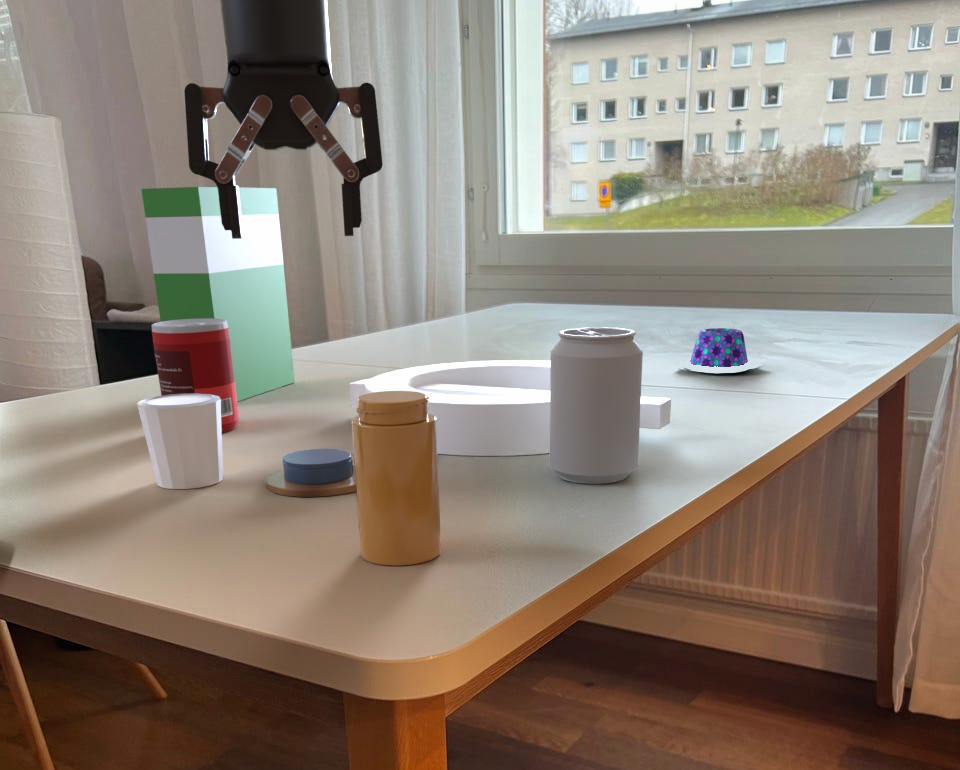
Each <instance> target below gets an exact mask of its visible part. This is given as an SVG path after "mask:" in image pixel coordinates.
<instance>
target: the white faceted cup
mask: <svg viewBox="0 0 960 770" xmlns="http://www.w3.org/2000/svg"><path fill="white" fill-rule="evenodd" d="M136 405H137V410H138V413H139V418H140V422H141V426H142V429H143V434H144V438H145V441H146V446H147V449H148V455H149V458H150V461H151V465H152V470H153V474H154V477H155V482H156V485H157V487H160V488H162V489H167V490H168V489H169V490H189V489H200V488H206V487H210V486H212V485H216V484H219V483H220V482H221V481H223V480H224V463H223V462H224V461H223V460H224V459H223V458H224V457H223V433H222V427H221V399H220V397H219V396H215V395H210V394H196V393H193V394H171V395H164V396H161V395H157V396H153V397H149V398H148V397H147V398H144V399H142V400H140V401H138V402H136Z"/></svg>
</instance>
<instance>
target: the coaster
mask: <svg viewBox="0 0 960 770" xmlns="http://www.w3.org/2000/svg"><path fill="white" fill-rule="evenodd" d="M265 485H266V489H267V490H268V491H269V492H270V493H273V494H277V495H281V496H287V497H294V498H295V497H296V498H318V497H319V498H322V497H332V496H339V495H344V494H350V493H354V492H356V480H355V466H354V464H353V473H352V476H351V477H349V478H348V479H345V480H342V481H339V482H334V483H327V484H313V485H309V484H297V483H292V482H289V481H287V480H285V478H284V469H281V470H278V471H275V472H273V473H271V474H269V475H268V476H267V477H266V478H265Z"/></svg>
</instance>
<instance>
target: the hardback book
mask: <svg viewBox="0 0 960 770" xmlns="http://www.w3.org/2000/svg"><path fill="white" fill-rule="evenodd" d="M141 196H142V205H143V208H144V210H143V211H144V217H145V222H146V223H145V224H146V230H147V231H146V232H147V236H148V237H147V239H148V244H149V252H150V256H151V257H150V258H151V266H152V273H153V278H154V279H153V280H154V286H155V292H156V300H157V307H158V313H159V322H163V321H170V320H181V319H223V320H226V321H227V325H228V329H229V336H230V344H231V353H232V361H233V370H234V379H235V388H236V396H237V403H238V402H241V401H244V400H247V399H250V398H252V397H256V396H258V395H262V394H264V393H268V392H270V391H273V390H276V389H279V388H282V387H285V386H287V385H291V384H293V383H295V382H296V380H295V370H294V359H293V348H292V339H291V328H290V318H289V306H288V298H287V297H288V296H287V286H286V275H285V266H284V254H283V245H282V243H283V242H282V234H281V225H280V224H281V222H280V213H279V212H280V211H279V202H278V201H279V200H278V192H277V187H239V197H240V207H241V217H242V226H243V238H242V239H233V238H232V233H231V230H225V229H224V227H223V225H222V222H221V213H220V204H219V195H218V188H217V186H183V187H182V186H181V187H155V188H149V187H148V188H141Z"/></svg>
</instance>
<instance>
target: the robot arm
mask: <svg viewBox="0 0 960 770" xmlns="http://www.w3.org/2000/svg"><path fill="white" fill-rule="evenodd" d="M219 1H220V2H219V3H220V13H221V21H222V22H221V23H222V32H223V43H224V51H225V61H226V80H225V83H224V84H223V85H224V86H223V87H213V86H200V85H198V84H197V83H194V82H190V83H188V84H187V85H186V86H185V87H184V92H183V93H184V107H185V121H186V139H187V140H186V141H187V154H188V155H187V156H188V167H189V170H190V171H191V173H192V174H194V175H196V176H200V177H203V178H206V179H208V180H211V181H212V182H214V184H215V185H216V187H217V188H218V195H219V204H220V213H221V222H222V225H223V227H224V229H225V230H231V233H232V238H233V239H242V238H243V226H242V217H241V207H240V197H239V188H240V187H239V185H236V177H237V175H238V173H239V172H240V170H241V168H242V167H243V165H244V164H245V162H246V161H247V159H248V158H249V156H250V154H251V153H252V151H253V149H255V147H256V146H257V147H258V148H260V149H262V150H264V151H279V150H281V149H286V148H288V149H292V150H295V151H308V150H309V149H311V148H313V147H314V146H316V145H318V146H319V148H320V149H321V150H322V152H323V153H324V154H325V156H326V157H327V158H328V159H329V161H330V162H331V163H332V165H333V166H334V167H335V168H336V170H337V171H338V173H339V174H340V175H341V176H342V181H343V183H341V184H340V188H341V202H342V216H343V220H342V221H343V233H344V237H354V229H358V228H360V227H361V225H362V221H363V219H362V201H361V200H362V199H361V183H362V181H363V180H364V179H365V178H367V177H369V176H372V175H375V174H376V173H379V172H380V171H381V169H382V168H383V157H382V156H383V154H382V143H381V135H380V126H379V117H378V115H379V114H378V106H377V95H376V89H375V87H374V85H373V84H372V83H370V82H363V83H361V85H359V86H349V87H348V86H347V87H338V86H337V85H336V82H335V80H334V78H333V74H332V58H331V56H332V55H331V41H330V27H329V12H328V0H219ZM222 104H224V105H225V107H226V109H227V110H228V111H229V112H230V114H231V115H232V116H233V117H234V119H235V120H236V121H237V123H238V124H239V128H238V130H237V131H236V133H235V135H234V137H233V138H232V140H231V142H230V143H229V146H228V147H227V150H226V151H225V153H224V155H223V156H222V158H221V160H220V162H219V163H217V162H215V161H211V160H210V153H209V152H210V151H209V149H210V148H209V131H208V120H213V119H214V118H215V117H216V116H217V109H218V107H219V106H220V105H222ZM340 104H344V105H345V106H346V107H347V109H348V112H349V114H350V116H351V117H352V118H354V119H355V120H360V125H361V134H362V135H361V137H362V143H363V153H364V154H363V155H364V158H362V159H359V160H357V161H355V162H354V161H353V160H352V159H351V158H350V156H349V155H348V153H346V151H345V149H344V148H343V147H342V145H341V144H340V142H339V141H338V140H337V139H336V137H335V136H334V134H333V133H332V132H331V131H330V129H329V128H328V125H329V124H330V122H331V120H332V118H333V117H334V115H335V113H336V111H337V110H338V108H339V105H340Z"/></svg>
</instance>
